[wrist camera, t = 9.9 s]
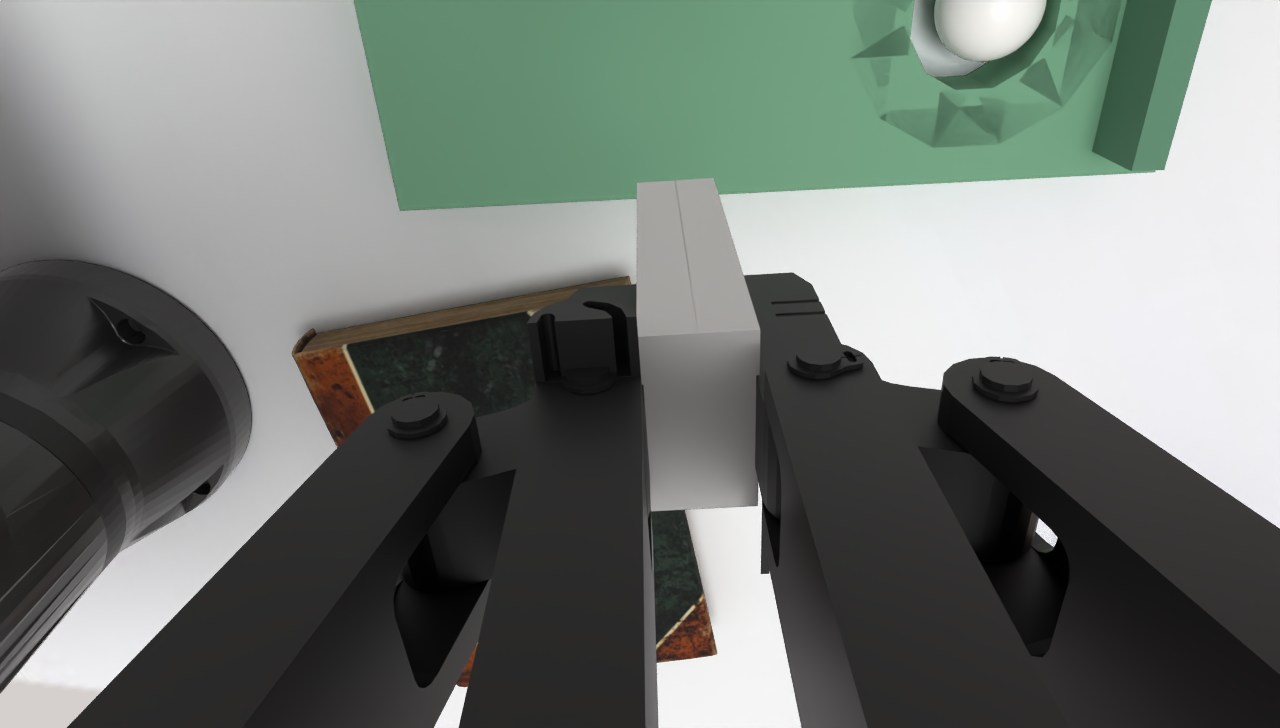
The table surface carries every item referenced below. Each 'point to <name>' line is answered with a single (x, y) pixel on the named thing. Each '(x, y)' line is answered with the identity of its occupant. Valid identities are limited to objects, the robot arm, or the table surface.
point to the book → (493, 382)
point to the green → (757, 96)
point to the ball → (986, 26)
